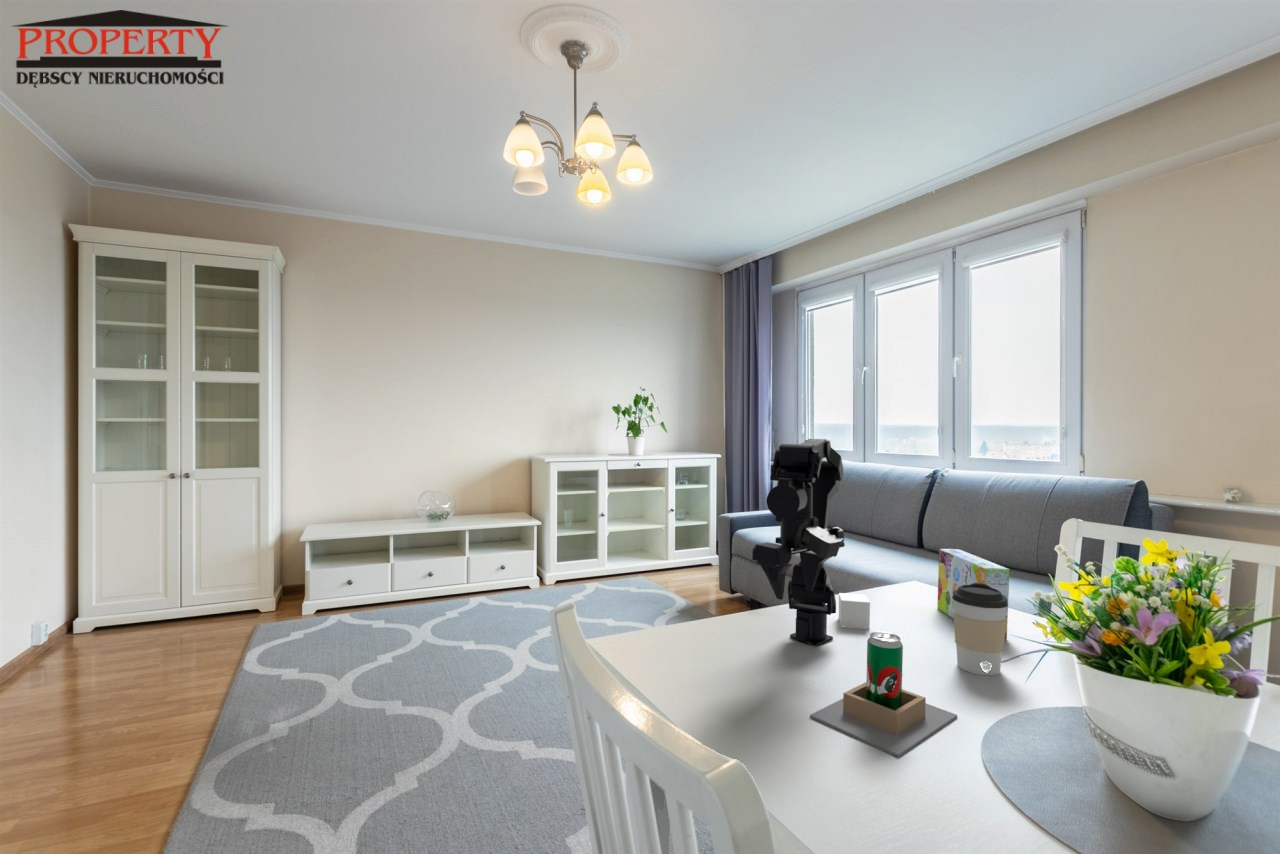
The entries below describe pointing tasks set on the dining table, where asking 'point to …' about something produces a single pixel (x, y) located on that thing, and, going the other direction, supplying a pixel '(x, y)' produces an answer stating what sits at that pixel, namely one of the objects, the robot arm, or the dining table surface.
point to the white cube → (854, 611)
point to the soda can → (884, 670)
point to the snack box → (967, 577)
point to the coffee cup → (979, 627)
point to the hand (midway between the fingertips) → (795, 594)
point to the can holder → (884, 720)
